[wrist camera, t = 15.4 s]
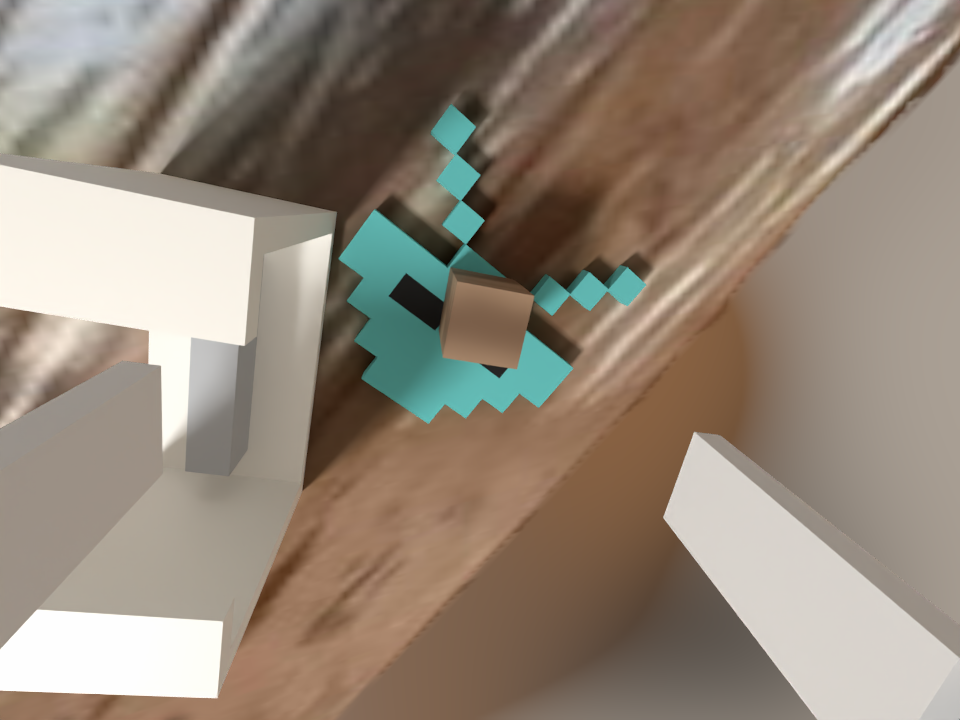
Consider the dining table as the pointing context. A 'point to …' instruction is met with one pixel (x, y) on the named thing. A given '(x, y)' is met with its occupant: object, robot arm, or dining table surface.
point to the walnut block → (484, 318)
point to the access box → (173, 410)
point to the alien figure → (420, 297)
